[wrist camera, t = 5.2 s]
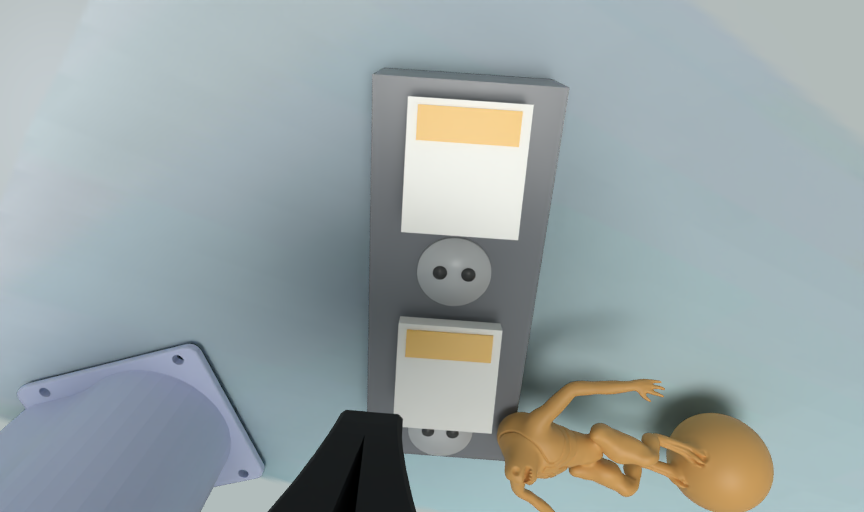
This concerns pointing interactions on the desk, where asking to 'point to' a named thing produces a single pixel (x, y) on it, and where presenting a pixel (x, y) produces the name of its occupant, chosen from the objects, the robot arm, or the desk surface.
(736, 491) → the figurine
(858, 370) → the desk surface
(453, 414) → the far rocker
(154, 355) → the robot arm
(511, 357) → the power strip
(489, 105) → the near rocker
